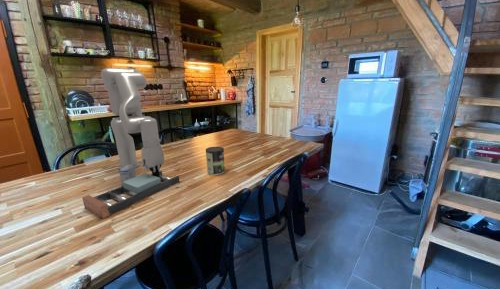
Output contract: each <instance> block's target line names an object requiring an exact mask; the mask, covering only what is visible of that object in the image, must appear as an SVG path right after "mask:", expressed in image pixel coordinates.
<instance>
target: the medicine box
mask: <svg viewBox="0 0 500 289" xmlns="http://www.w3.org/2000/svg"><path fill="white" fill-rule="evenodd" d="M119 177H120V183H121V186H123V183H122V182H123V181H126V180H129V179H131V178H134V177H137V173H136V168H135V166H134V165H126V166H125V167H124V168H122V169H121V170H120V169H119Z"/></svg>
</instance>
